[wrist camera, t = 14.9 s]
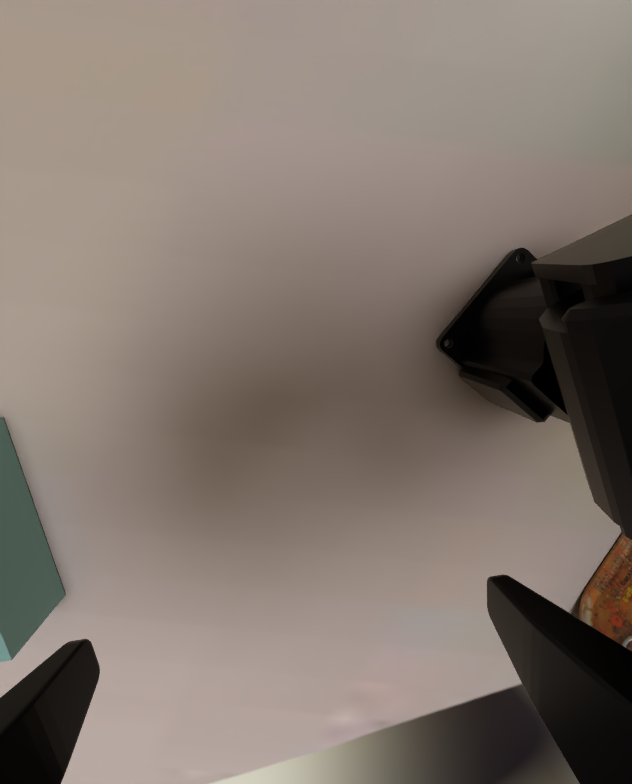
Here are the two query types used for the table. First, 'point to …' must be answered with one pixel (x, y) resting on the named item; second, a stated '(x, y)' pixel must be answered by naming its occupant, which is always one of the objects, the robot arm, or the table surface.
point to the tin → (611, 595)
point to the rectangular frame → (22, 558)
